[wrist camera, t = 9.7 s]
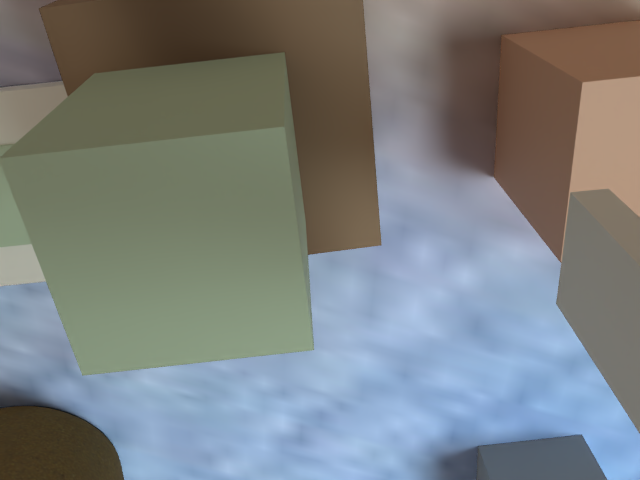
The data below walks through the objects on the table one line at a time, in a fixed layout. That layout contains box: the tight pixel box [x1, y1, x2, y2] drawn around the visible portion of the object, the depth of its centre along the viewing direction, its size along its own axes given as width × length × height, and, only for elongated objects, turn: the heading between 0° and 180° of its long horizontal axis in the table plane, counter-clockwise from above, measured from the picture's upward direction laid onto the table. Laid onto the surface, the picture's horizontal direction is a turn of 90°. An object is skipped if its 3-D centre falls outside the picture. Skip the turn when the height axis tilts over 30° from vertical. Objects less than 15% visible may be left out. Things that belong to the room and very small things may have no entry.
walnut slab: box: [39, 0, 381, 255], centre depth 18 cm, size 8×8×4 cm
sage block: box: [0, 52, 314, 375], centre depth 14 cm, size 5×5×6 cm
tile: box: [0, 81, 68, 286], centre depth 21 cm, size 7×7×1 cm
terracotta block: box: [494, 20, 640, 262], centre depth 18 cm, size 5×5×6 cm
